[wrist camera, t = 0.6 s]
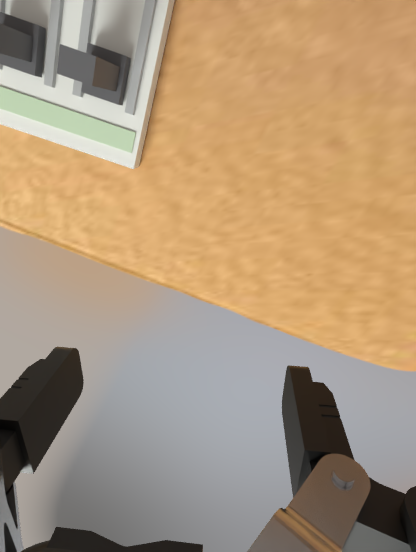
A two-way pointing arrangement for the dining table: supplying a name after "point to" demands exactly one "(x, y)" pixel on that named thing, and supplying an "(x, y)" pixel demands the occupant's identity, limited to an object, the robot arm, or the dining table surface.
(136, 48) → the panel
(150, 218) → the dining table surface
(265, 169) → the dining table surface
